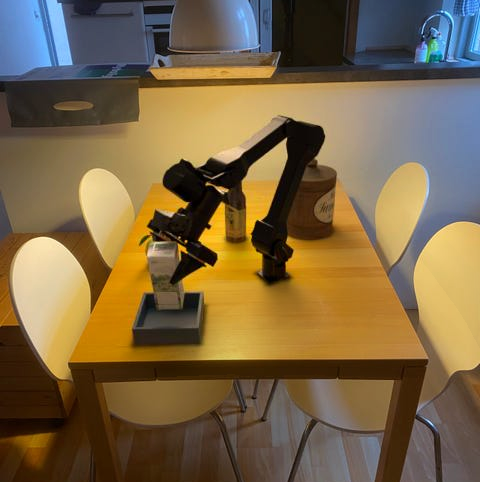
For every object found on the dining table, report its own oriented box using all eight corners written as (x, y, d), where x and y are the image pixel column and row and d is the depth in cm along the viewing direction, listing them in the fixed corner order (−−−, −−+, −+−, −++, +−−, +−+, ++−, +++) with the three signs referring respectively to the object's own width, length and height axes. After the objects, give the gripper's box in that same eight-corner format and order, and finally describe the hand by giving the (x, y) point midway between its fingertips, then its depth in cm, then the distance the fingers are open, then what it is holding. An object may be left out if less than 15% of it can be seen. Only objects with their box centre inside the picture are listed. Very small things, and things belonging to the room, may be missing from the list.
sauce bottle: (222, 236, 143) (219, 172, 133) (241, 232, 145) (239, 169, 135) (230, 245, 138) (228, 179, 127) (250, 240, 140) (249, 176, 129)
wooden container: (327, 242, 138) (334, 169, 126) (278, 236, 142) (280, 164, 130) (335, 221, 150) (341, 152, 138) (290, 216, 154) (292, 149, 142)
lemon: (142, 268, 128) (136, 235, 123) (148, 257, 133) (143, 225, 127) (166, 269, 127) (161, 236, 122) (171, 258, 132) (167, 226, 127)
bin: (134, 344, 101) (131, 329, 98) (145, 307, 112) (143, 292, 110) (200, 343, 100) (198, 328, 98) (204, 306, 112) (203, 291, 110)
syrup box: (185, 293, 107) (177, 239, 98) (182, 310, 102) (174, 255, 93) (159, 294, 107) (150, 240, 98) (156, 311, 102) (145, 256, 93)
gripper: (148, 181, 98) (109, 246, 99) (201, 207, 86) (157, 280, 86) (183, 206, 107) (147, 265, 107) (236, 232, 95) (195, 299, 95)
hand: (160, 276), depth 99 cm, fingers closed on syrup box, 8 cm apart
